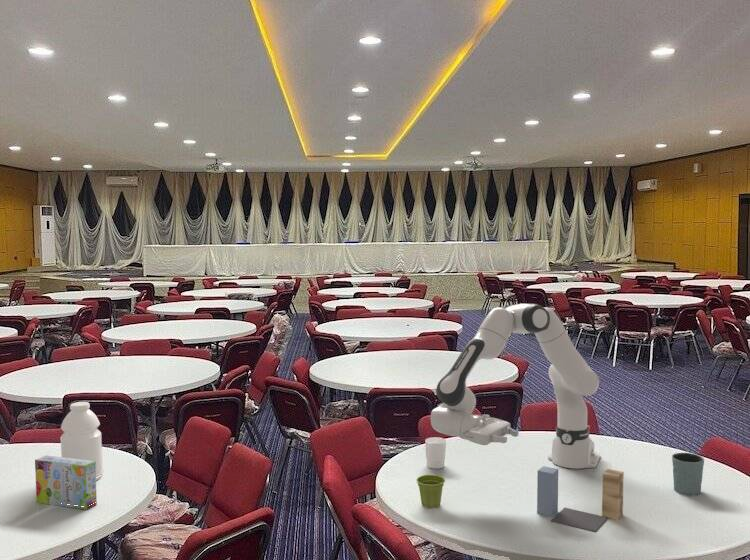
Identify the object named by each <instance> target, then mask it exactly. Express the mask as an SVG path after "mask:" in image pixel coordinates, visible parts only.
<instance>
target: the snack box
mask: <svg viewBox="0 0 750 560" xmlns="http://www.w3.org/2000/svg"><path fill="white" fill-rule="evenodd" d="M34 465H35V468H34V469H35V495H36V498H35V499H36V503H37V504H38V503H40V504H46V505H52V506H59V507H65V508H66V507H67V508H73V509H79V510H88V509H90V508H93V507H96V505H97V480H96V461H89V460H81V459H73V458H64V457H61V456H55V455H47V454H46V455H44V456H42V457H39V458H37V459H36V458H35V460H34ZM95 502H96V503H95ZM61 503H62V504H61ZM93 503H94V504H93ZM67 504H70V505H67ZM91 504H92V505H91ZM74 505H78V506H74ZM89 505H90V506H89ZM81 506H84V507H81Z"/></svg>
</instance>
